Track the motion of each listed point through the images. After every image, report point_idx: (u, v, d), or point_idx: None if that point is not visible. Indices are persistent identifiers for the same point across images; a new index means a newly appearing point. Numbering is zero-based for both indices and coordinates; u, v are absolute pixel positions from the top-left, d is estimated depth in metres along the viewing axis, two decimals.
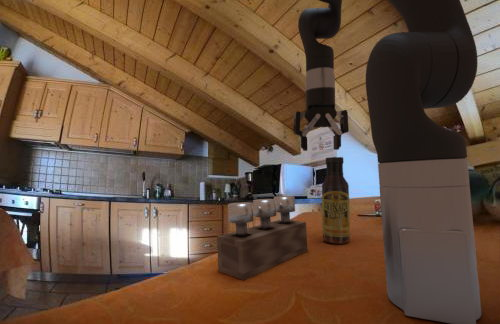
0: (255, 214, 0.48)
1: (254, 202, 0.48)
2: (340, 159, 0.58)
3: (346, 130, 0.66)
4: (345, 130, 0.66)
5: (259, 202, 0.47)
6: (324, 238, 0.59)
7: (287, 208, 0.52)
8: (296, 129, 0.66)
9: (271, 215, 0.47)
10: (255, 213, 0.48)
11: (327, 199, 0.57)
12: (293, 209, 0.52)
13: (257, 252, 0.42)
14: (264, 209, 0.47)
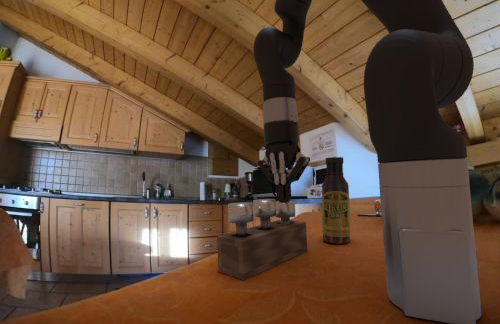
0: (255, 214, 0.48)
1: (254, 202, 0.48)
2: (340, 159, 0.58)
3: (289, 178, 0.51)
4: (288, 178, 0.52)
5: (259, 202, 0.47)
6: (324, 238, 0.59)
7: (287, 213, 0.51)
8: (268, 177, 0.56)
9: (271, 215, 0.47)
10: (255, 213, 0.48)
11: (328, 199, 0.57)
12: (293, 214, 0.52)
13: (257, 252, 0.42)
14: (264, 209, 0.47)
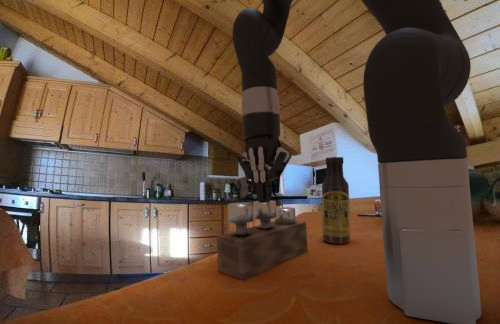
0: (255, 216, 0.48)
1: (254, 204, 0.48)
2: (340, 159, 0.58)
3: (269, 176, 0.47)
4: (268, 176, 0.47)
5: (259, 204, 0.47)
6: (324, 238, 0.59)
7: (287, 220, 0.51)
8: (247, 175, 0.51)
9: (271, 217, 0.47)
10: (255, 215, 0.48)
11: (328, 199, 0.57)
12: (294, 221, 0.52)
13: (257, 252, 0.42)
14: (264, 210, 0.47)
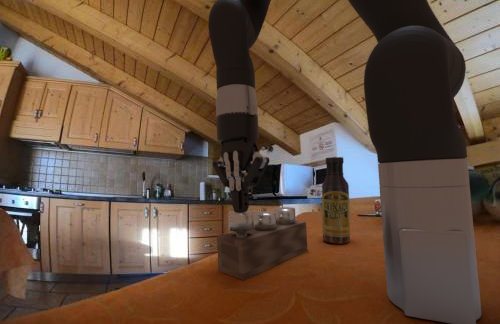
0: (256, 227, 0.48)
1: (255, 215, 0.48)
2: (340, 159, 0.58)
3: (245, 183, 0.42)
4: (244, 183, 0.42)
5: (260, 215, 0.47)
6: (324, 238, 0.59)
7: (287, 220, 0.51)
8: (222, 181, 0.46)
9: (272, 228, 0.47)
10: (256, 226, 0.48)
11: (328, 199, 0.57)
12: (294, 221, 0.52)
13: (257, 252, 0.42)
14: (264, 222, 0.47)
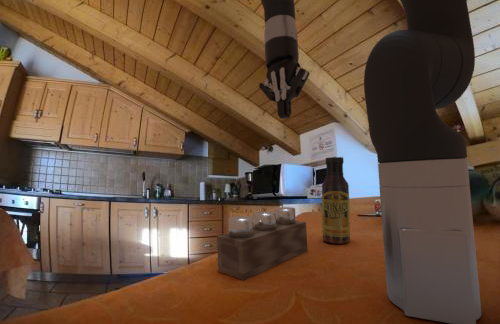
0: (256, 227, 0.48)
1: (255, 215, 0.48)
2: (340, 159, 0.58)
3: (290, 92, 0.54)
4: (289, 92, 0.54)
5: (260, 215, 0.47)
6: (324, 238, 0.59)
7: (287, 220, 0.51)
8: (269, 97, 0.58)
9: (272, 228, 0.47)
10: (256, 226, 0.48)
11: (328, 199, 0.57)
12: (294, 221, 0.52)
13: (257, 252, 0.42)
14: (264, 222, 0.47)
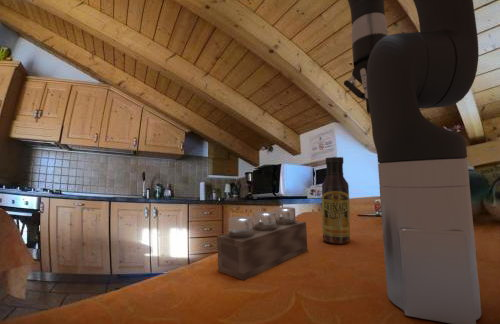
0: (256, 227, 0.48)
1: (255, 215, 0.48)
2: (340, 159, 0.58)
3: None
4: None
5: (260, 215, 0.47)
6: (324, 238, 0.59)
7: (287, 220, 0.51)
8: (356, 94, 0.59)
9: (272, 228, 0.47)
10: (256, 226, 0.48)
11: (327, 199, 0.57)
12: (294, 221, 0.52)
13: (257, 252, 0.42)
14: (264, 222, 0.47)
